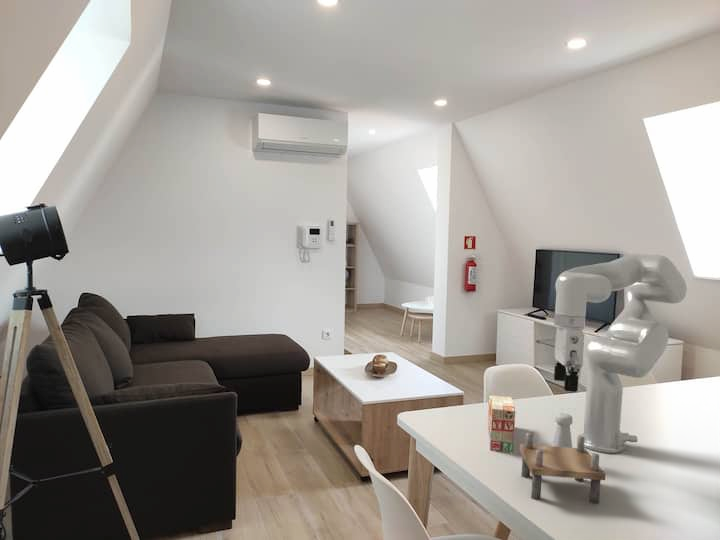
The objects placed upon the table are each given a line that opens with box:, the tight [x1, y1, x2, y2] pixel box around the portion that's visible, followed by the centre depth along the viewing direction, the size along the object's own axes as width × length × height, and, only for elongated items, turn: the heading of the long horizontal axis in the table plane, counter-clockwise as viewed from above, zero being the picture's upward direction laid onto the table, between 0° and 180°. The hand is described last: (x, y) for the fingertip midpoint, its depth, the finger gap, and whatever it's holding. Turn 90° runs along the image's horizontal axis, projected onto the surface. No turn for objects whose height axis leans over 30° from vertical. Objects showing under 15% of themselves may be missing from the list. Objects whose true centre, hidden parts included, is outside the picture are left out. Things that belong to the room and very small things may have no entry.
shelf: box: [519, 432, 607, 505], centre depth 127 cm, size 16×14×11 cm
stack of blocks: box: [487, 395, 516, 454], centre depth 158 cm, size 21×6×12 cm, turn 169°
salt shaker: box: [551, 412, 573, 448], centre depth 143 cm, size 6×6×13 cm
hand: (565, 385), depth 141 cm, fingers open, 9 cm apart
